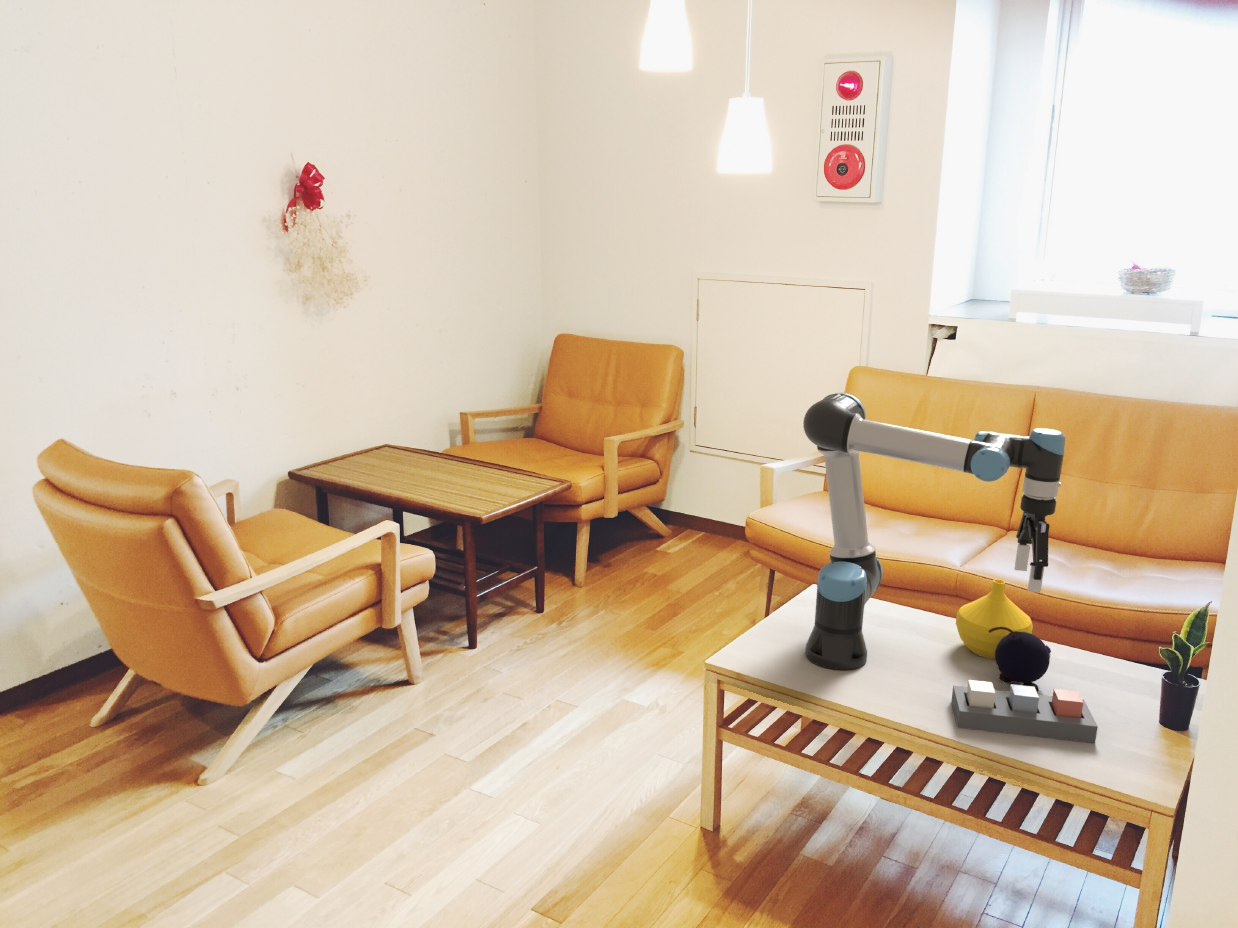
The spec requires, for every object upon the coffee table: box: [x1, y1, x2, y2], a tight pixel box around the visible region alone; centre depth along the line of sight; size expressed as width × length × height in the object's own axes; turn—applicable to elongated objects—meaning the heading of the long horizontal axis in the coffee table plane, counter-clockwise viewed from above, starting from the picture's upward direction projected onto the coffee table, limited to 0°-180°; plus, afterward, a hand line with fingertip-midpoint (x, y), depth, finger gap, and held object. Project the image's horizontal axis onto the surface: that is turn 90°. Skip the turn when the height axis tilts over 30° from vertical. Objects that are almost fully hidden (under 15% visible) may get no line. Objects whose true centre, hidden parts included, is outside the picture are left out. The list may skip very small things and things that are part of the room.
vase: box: [955, 578, 1034, 660], centre depth 249 cm, size 18×18×19 cm
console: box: [951, 684, 1098, 744], centre depth 217 cm, size 28×12×4 cm, turn 78°
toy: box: [989, 627, 1052, 693], centre depth 232 cm, size 12×14×15 cm
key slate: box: [1009, 683, 1039, 713], centre depth 216 cm, size 5×5×4 cm
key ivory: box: [966, 679, 996, 708], centre depth 218 cm, size 5×5×4 cm
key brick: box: [1051, 688, 1083, 718], centre depth 214 cm, size 5×5×4 cm
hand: (1027, 580), depth 233 cm, fingers open, 13 cm apart
